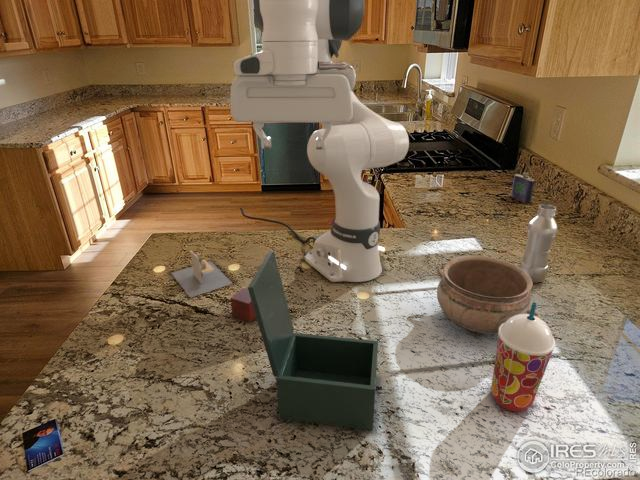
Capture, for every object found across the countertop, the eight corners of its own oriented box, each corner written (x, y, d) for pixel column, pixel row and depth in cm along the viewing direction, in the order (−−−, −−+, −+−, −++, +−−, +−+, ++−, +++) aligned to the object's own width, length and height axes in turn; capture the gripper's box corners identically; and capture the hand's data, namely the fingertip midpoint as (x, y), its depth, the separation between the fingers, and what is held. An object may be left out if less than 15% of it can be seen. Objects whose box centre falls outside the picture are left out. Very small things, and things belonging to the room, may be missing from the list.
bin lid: (273, 250, 70) (269, 250, 71) (252, 287, 60) (247, 287, 60) (294, 330, 77) (289, 330, 77) (278, 376, 67) (273, 376, 67)
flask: (508, 196, 166) (513, 169, 162) (514, 195, 167) (520, 169, 163) (526, 204, 158) (532, 176, 154) (532, 203, 159) (539, 175, 155)
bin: (376, 378, 79) (378, 340, 75) (372, 430, 68) (375, 389, 65) (293, 369, 81) (292, 332, 77) (278, 418, 71) (275, 378, 67)
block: (232, 316, 97) (230, 298, 95) (245, 305, 101) (243, 287, 99) (250, 322, 95) (248, 303, 93) (263, 310, 99) (261, 292, 97)
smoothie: (494, 375, 79) (515, 283, 71) (542, 396, 75) (570, 300, 66) (478, 402, 74) (497, 306, 65) (528, 427, 69) (557, 327, 60)
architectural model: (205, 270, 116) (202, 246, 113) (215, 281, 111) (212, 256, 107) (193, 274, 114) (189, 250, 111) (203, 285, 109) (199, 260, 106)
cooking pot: (406, 310, 98) (410, 263, 93) (460, 285, 108) (467, 242, 103) (501, 373, 80) (513, 320, 74) (556, 336, 89) (570, 287, 84)
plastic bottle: (548, 286, 107) (567, 213, 98) (519, 284, 108) (536, 211, 99) (541, 274, 112) (559, 203, 104) (514, 271, 114) (529, 201, 105)
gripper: (356, 60, 70) (354, 145, 75) (233, 61, 71) (241, 144, 77) (356, 62, 64) (353, 153, 70) (223, 62, 65) (231, 152, 71)
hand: (293, 148), depth 73 cm, fingers open, 8 cm apart
